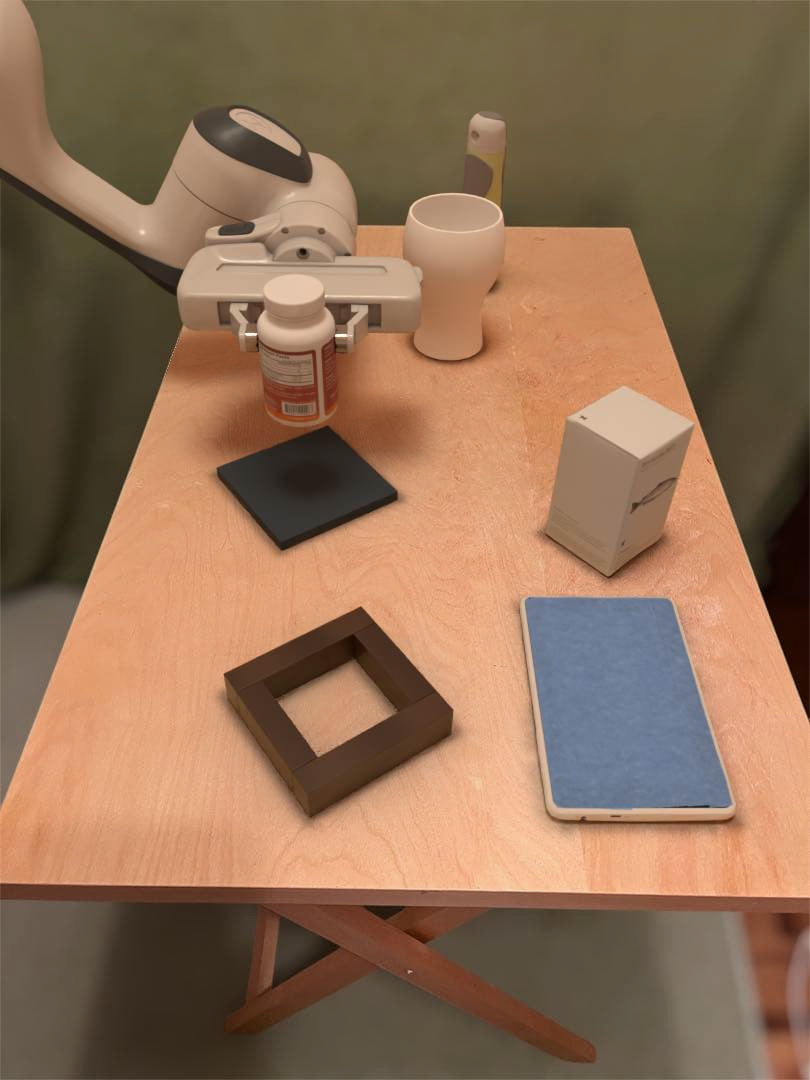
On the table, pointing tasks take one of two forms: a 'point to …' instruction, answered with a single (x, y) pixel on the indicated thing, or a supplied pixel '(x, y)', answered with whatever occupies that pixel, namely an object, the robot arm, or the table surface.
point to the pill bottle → (297, 351)
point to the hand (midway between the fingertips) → (295, 345)
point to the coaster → (306, 486)
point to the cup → (453, 269)
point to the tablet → (620, 712)
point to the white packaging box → (616, 477)
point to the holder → (363, 754)
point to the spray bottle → (486, 157)
